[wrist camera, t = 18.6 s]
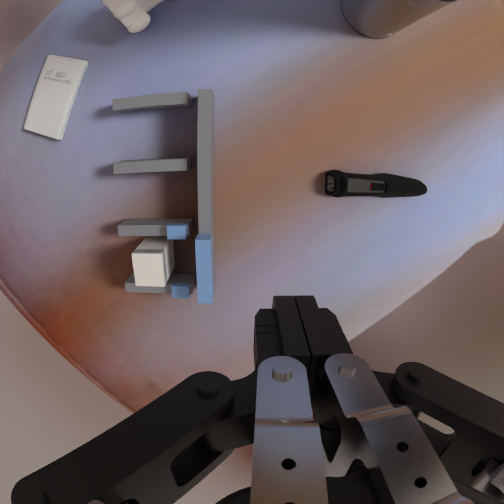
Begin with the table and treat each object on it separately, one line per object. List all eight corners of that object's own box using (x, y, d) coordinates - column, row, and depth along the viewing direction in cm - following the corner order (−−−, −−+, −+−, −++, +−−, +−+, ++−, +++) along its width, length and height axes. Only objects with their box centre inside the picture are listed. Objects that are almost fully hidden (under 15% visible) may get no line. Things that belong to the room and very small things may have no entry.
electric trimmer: (415, 199, 44) (426, 203, 41) (324, 195, 43) (330, 199, 40) (418, 175, 42) (428, 178, 39) (325, 168, 42) (331, 171, 39)
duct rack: (122, 102, 37) (100, 96, 30) (215, 95, 37) (210, 86, 30) (133, 282, 46) (117, 305, 39) (216, 284, 47) (212, 309, 40)
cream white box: (146, 236, 44) (131, 253, 37) (172, 236, 44) (161, 253, 38) (149, 265, 45) (135, 285, 39) (174, 265, 46) (164, 286, 39)
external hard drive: (28, 128, 37) (52, 55, 33) (63, 139, 39) (90, 62, 35) (22, 128, 36) (47, 54, 32) (58, 140, 37) (86, 60, 33)
